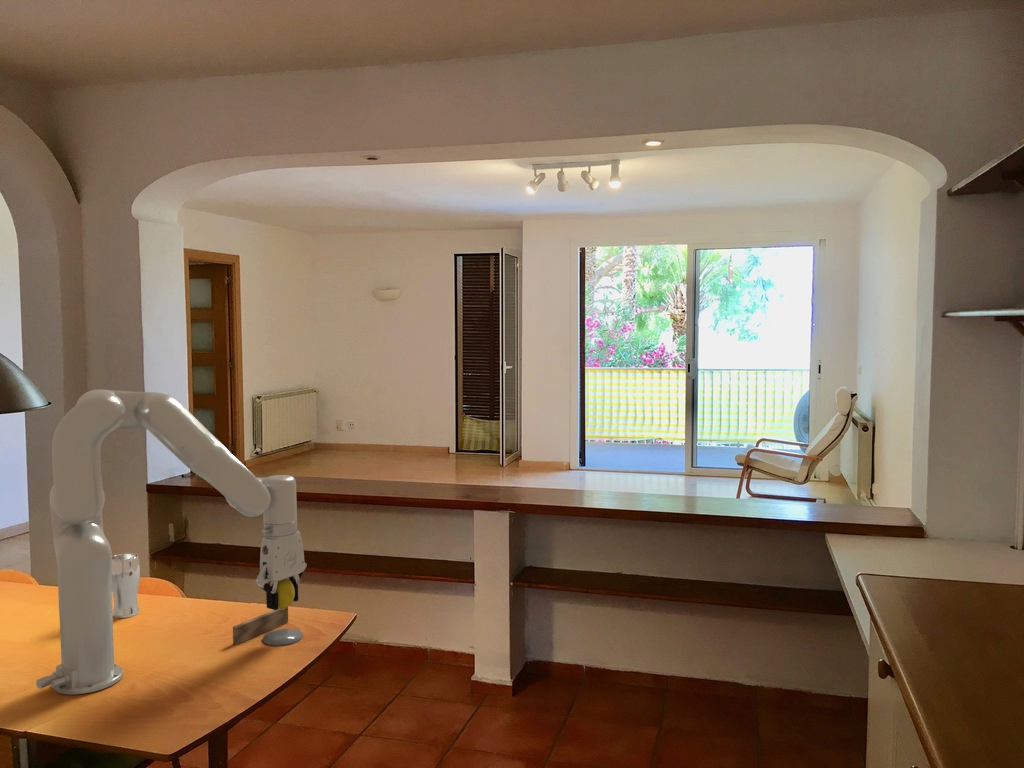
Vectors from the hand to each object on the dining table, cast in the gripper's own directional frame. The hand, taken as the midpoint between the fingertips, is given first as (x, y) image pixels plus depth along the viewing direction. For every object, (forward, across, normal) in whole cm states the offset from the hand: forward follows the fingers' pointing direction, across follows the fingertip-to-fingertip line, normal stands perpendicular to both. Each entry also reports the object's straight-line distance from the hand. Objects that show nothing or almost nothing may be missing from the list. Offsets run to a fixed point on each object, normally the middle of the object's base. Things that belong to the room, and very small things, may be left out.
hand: (282, 603), depth 180 cm
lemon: (+2, 0, 0) cm, 2 cm away
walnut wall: (+8, 0, +7) cm, 11 cm away
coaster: (+8, 0, 0) cm, 8 cm away
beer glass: (+8, -8, +47) cm, 49 cm away
